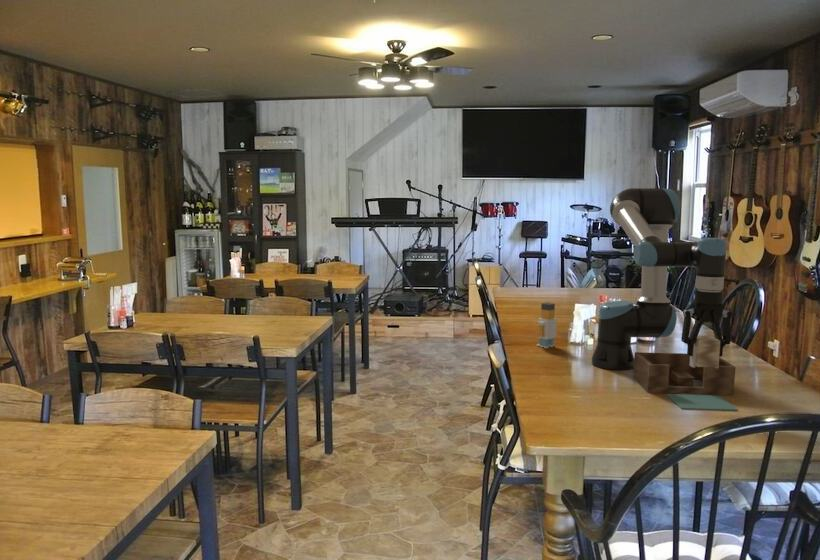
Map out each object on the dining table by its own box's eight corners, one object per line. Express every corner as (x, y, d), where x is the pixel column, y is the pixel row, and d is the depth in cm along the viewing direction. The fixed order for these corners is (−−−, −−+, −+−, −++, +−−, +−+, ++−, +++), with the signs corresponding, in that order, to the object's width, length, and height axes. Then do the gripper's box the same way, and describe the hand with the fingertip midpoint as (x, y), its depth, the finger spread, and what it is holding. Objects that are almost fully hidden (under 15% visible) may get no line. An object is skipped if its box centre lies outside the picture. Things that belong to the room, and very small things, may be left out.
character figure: (535, 348, 260) (537, 304, 257) (537, 342, 270) (538, 300, 267) (555, 349, 258) (557, 305, 255) (556, 344, 268) (557, 301, 265)
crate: (647, 392, 203) (649, 364, 201) (633, 377, 219) (634, 352, 218) (733, 394, 201) (735, 367, 200) (712, 380, 217) (714, 354, 216)
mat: (681, 409, 187) (681, 407, 187) (666, 395, 200) (666, 394, 200) (737, 410, 186) (737, 409, 186) (719, 396, 199) (719, 395, 199)
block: (697, 366, 188) (699, 340, 187) (690, 361, 194) (691, 335, 193) (718, 367, 188) (720, 340, 187) (710, 362, 194) (712, 336, 193)
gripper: (680, 291, 185) (675, 369, 188) (748, 292, 184) (742, 370, 187) (671, 288, 193) (667, 362, 196) (736, 289, 192) (731, 364, 194)
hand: (703, 366), depth 191 cm, fingers closed on block, 6 cm apart
